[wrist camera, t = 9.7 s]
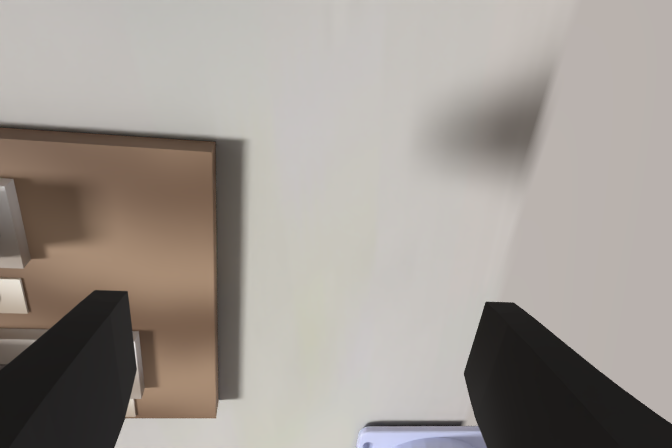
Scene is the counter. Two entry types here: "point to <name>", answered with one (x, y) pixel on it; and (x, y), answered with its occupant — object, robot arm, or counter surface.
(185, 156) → the switch board
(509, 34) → the counter surface
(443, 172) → the counter surface
